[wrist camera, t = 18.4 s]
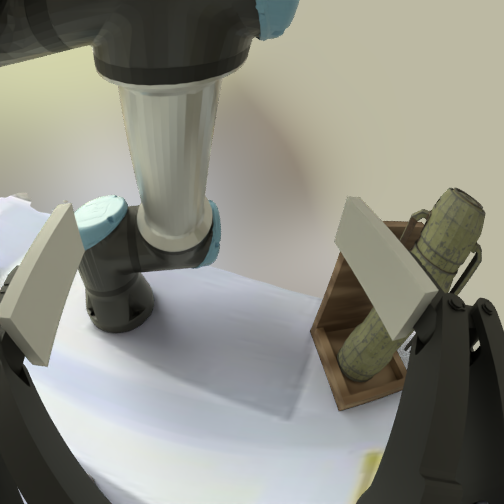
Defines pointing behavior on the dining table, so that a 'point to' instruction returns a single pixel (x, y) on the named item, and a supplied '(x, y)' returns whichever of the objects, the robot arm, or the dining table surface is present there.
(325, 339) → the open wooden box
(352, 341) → the thermos
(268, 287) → the dining table surface
